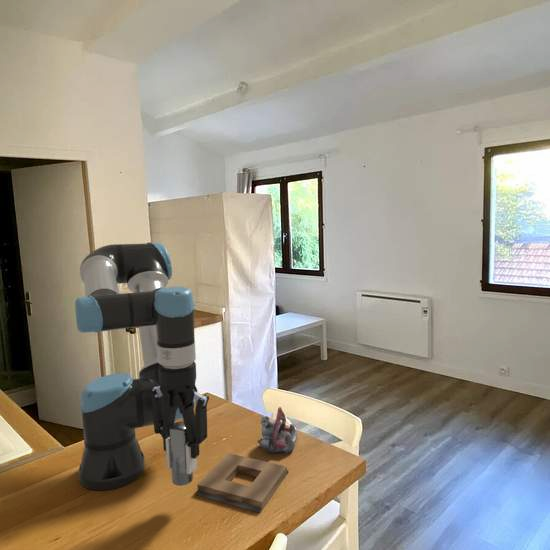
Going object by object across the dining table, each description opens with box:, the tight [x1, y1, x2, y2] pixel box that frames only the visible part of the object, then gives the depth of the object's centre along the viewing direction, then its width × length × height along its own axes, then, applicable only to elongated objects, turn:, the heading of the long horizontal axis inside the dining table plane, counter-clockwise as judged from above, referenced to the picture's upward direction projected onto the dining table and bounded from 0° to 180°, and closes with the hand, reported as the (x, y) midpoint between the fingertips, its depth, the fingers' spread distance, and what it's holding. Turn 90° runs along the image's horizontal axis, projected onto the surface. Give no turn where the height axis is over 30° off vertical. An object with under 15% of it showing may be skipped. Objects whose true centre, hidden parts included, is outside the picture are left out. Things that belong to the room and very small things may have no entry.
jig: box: [195, 452, 289, 514], centre depth 100 cm, size 16×16×2 cm
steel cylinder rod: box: [169, 421, 194, 487], centre depth 92 cm, size 4×4×12 cm
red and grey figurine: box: [257, 406, 298, 454], centre depth 117 cm, size 11×11×12 cm
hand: (182, 467), depth 92 cm, fingers closed on steel cylinder rod, 4 cm apart
